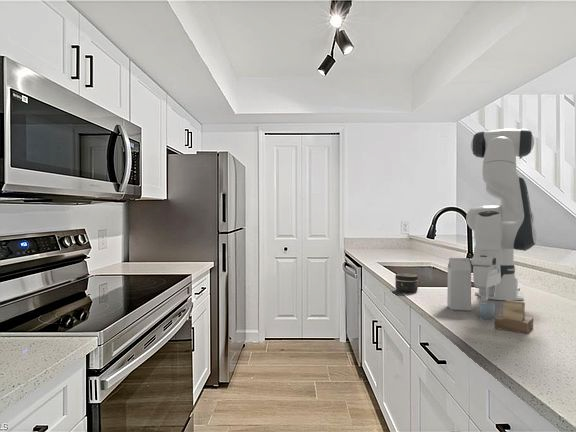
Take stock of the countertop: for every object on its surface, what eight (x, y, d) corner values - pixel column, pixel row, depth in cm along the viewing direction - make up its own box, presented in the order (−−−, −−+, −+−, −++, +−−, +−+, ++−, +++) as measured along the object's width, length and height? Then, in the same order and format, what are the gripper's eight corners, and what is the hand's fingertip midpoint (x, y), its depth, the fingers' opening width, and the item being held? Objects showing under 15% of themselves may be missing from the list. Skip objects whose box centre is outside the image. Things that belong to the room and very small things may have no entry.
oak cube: (507, 315, 136) (507, 299, 136) (524, 317, 133) (524, 302, 133) (503, 318, 132) (503, 302, 132) (521, 321, 129) (521, 304, 129)
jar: (391, 292, 191) (392, 275, 191) (399, 288, 199) (399, 272, 199) (413, 294, 185) (413, 277, 185) (420, 291, 194) (421, 274, 194)
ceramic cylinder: (481, 315, 148) (481, 301, 148) (496, 317, 145) (496, 303, 145) (477, 317, 145) (477, 303, 145) (492, 320, 142) (492, 305, 141)
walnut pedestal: (501, 322, 139) (502, 313, 139) (533, 327, 133) (533, 317, 133) (494, 328, 132) (494, 318, 132) (527, 333, 126) (527, 323, 126)
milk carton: (471, 311, 155) (471, 259, 154) (450, 310, 156) (450, 258, 156) (466, 306, 161) (467, 257, 161) (447, 305, 163) (447, 256, 163)
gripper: (486, 256, 154) (486, 294, 154) (469, 259, 139) (469, 302, 138) (505, 257, 150) (505, 296, 150) (490, 261, 135) (490, 304, 134)
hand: (488, 299), depth 144 cm, fingers open, 8 cm apart
